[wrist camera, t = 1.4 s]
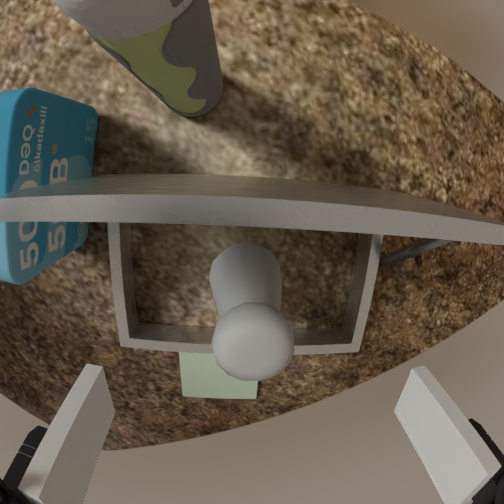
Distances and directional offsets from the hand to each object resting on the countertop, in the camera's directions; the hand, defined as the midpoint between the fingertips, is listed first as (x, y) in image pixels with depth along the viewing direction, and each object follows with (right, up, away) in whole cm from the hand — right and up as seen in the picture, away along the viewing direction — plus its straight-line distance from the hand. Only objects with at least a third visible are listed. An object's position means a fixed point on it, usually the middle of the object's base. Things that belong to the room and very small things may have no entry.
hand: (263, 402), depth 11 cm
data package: (-17, +13, +12) cm, 24 cm away
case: (-1, +5, +16) cm, 16 cm away
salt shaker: (-1, +5, +16) cm, 16 cm away
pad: (-4, -6, +18) cm, 20 cm away
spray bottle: (-5, +19, +11) cm, 23 cm away
